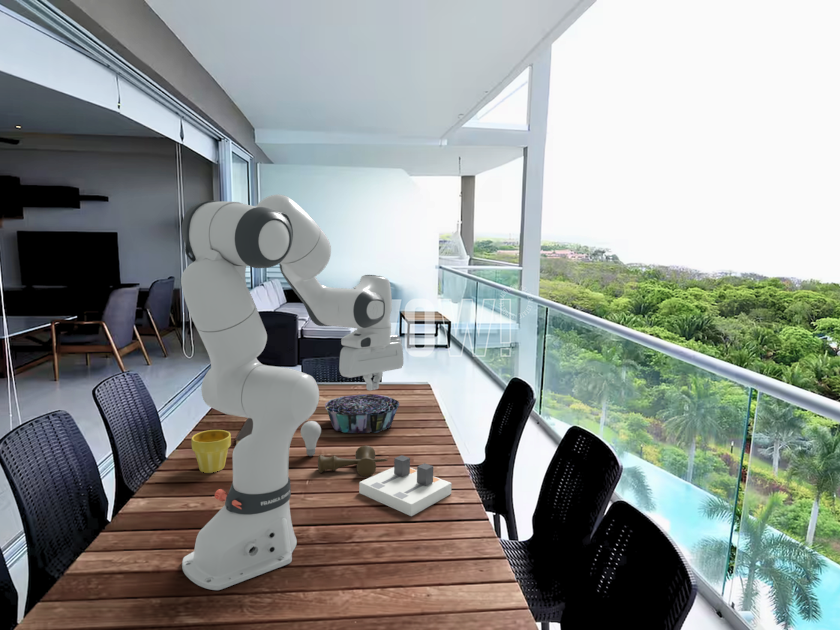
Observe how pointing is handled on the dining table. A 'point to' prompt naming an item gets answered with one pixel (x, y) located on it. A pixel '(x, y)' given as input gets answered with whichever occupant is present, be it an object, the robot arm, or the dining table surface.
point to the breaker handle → (402, 466)
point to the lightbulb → (310, 436)
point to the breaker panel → (404, 491)
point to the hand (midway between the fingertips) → (372, 389)
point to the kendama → (352, 461)
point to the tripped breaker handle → (425, 474)
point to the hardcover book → (245, 430)
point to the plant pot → (211, 449)
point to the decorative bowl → (362, 413)
